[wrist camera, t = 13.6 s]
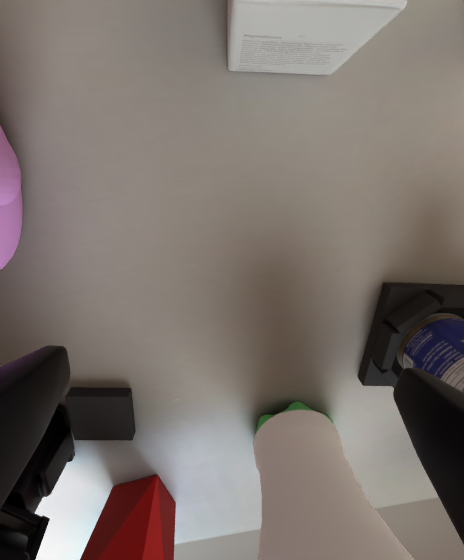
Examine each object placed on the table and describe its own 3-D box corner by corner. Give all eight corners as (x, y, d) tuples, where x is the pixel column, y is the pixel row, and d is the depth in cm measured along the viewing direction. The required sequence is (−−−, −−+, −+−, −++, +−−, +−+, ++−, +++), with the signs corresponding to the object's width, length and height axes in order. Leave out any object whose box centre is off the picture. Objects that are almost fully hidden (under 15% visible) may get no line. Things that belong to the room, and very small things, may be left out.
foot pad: (357, 377, 25) (371, 399, 22) (383, 282, 21) (403, 296, 19) (455, 379, 25) (479, 400, 23) (496, 286, 22) (529, 300, 19)
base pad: (79, 430, 26) (74, 440, 25) (71, 387, 24) (65, 396, 23) (135, 431, 26) (132, 440, 25) (131, 388, 24) (128, 397, 23)
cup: (211, 413, 25) (202, 678, 12) (325, 363, 24) (456, 604, 11) (264, 483, 29) (301, 742, 16) (366, 444, 28) (499, 695, 15)
